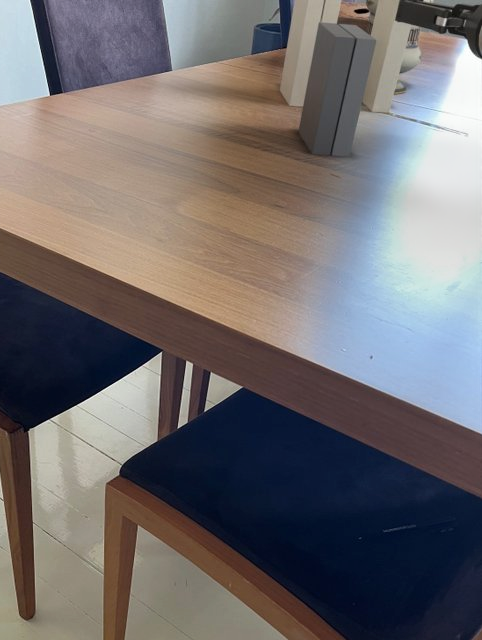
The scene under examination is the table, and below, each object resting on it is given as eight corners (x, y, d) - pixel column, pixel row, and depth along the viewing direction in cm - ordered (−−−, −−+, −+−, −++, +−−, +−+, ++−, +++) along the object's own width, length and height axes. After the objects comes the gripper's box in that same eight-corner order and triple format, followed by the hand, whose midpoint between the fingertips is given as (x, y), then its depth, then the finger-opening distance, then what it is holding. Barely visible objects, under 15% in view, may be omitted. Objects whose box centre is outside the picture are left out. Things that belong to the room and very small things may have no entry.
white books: (307, 92, 132) (328, -18, 122) (319, 108, 124) (343, -10, 113) (279, 90, 132) (298, -21, 122) (289, 106, 124) (310, -12, 113)
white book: (372, 97, 133) (399, -12, 123) (389, 113, 125) (418, -4, 114) (356, 96, 133) (381, -14, 122) (371, 111, 124) (399, -5, 114)
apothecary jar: (335, 80, 142) (358, -29, 131) (386, 79, 146) (412, -27, 135) (372, 96, 134) (400, -20, 122) (424, 95, 138) (456, -18, 126)
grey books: (331, 139, 109) (356, 25, 100) (348, 163, 100) (376, 39, 91) (297, 137, 109) (318, 22, 99) (310, 160, 100) (335, 36, 91)
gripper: (399, 59, 92) (360, 30, 108) (593, 72, 93) (524, 41, 109) (417, -12, 87) (373, -30, 104) (621, 3, 88) (544, -18, 105)
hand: (450, 7), depth 106 cm, fingers open, 13 cm apart
